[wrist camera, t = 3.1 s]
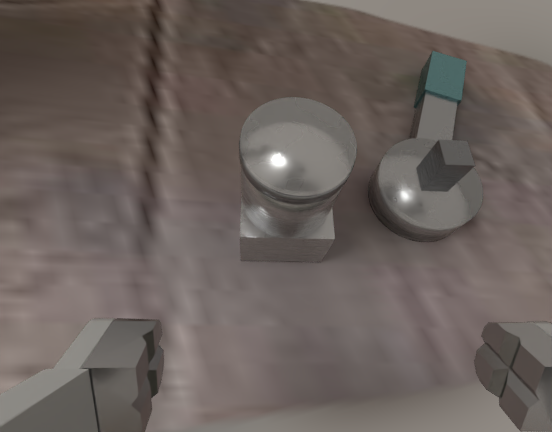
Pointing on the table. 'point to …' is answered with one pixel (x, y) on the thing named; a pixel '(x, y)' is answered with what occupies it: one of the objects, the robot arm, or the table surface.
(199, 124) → the table surface
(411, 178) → the ratchet
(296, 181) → the cylinder on square base
